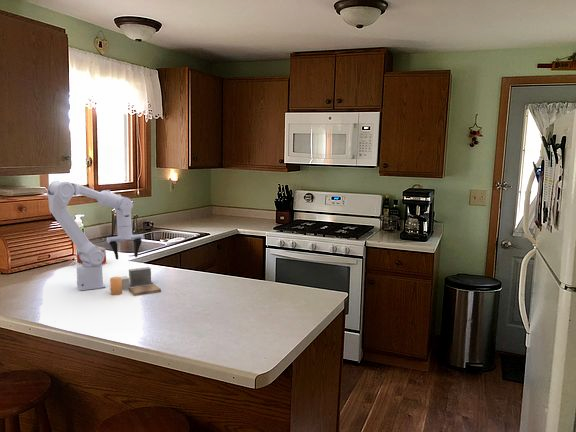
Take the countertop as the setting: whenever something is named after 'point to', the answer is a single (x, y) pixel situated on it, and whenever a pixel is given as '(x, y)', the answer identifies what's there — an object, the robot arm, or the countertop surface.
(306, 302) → the countertop surface
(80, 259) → the medicine box
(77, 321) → the countertop surface
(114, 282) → the cylinder
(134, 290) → the mat
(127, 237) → the robot arm
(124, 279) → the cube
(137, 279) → the housing
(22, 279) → the countertop surface
